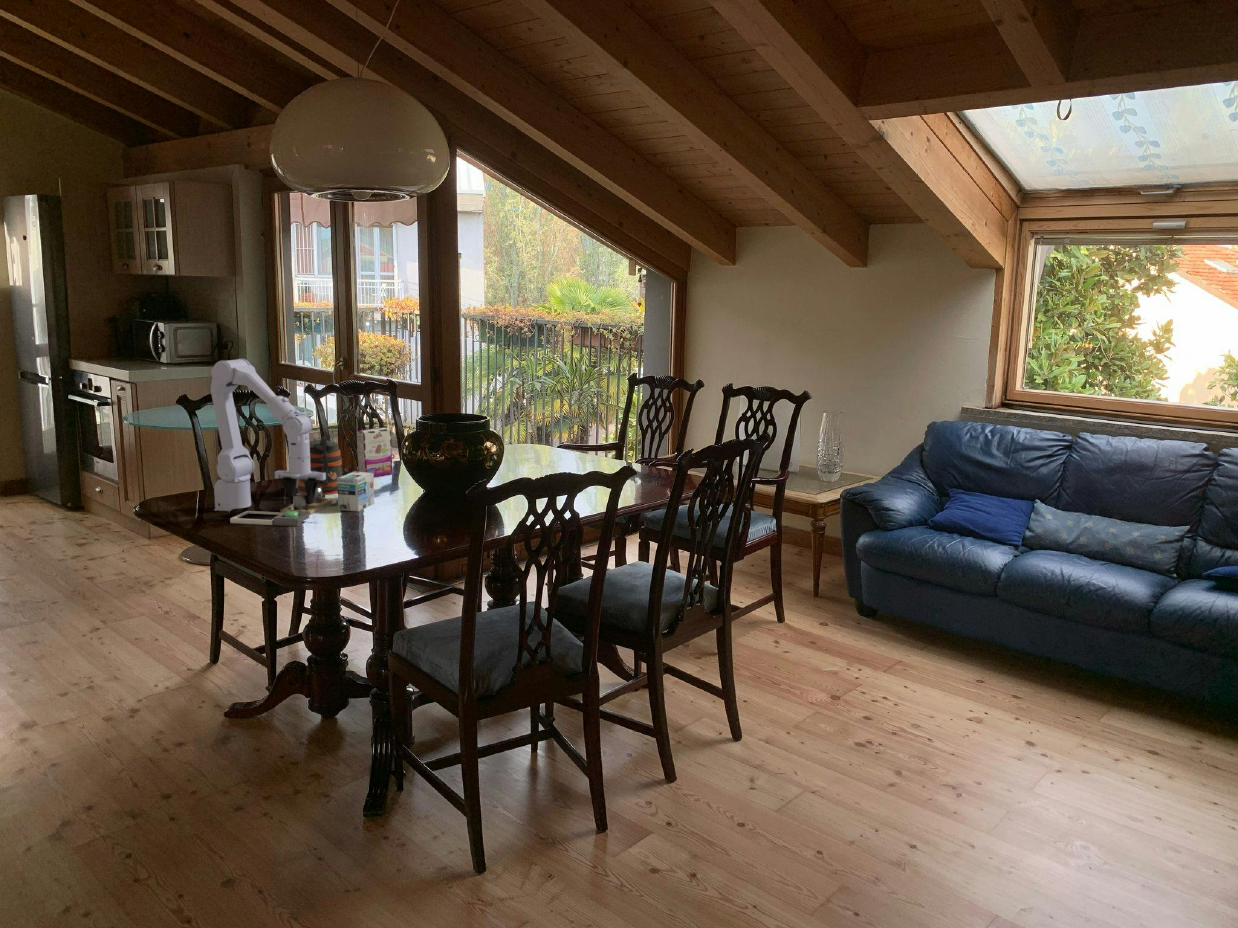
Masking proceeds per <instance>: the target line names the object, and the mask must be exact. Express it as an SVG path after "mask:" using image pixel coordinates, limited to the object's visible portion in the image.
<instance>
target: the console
mask: <svg viewBox="0 0 1238 928" xmlns="http://www.w3.org/2000/svg"><path fill="white" fill-rule="evenodd" d="M284 513H285V512H284ZM284 513H282V514H280V515H276V516H274V517H273V518H272V519H273V521H274V524H273V526H283V527H285V526H286V527H299V526H302V525H303V524H305V523H306V522H307V520H308V519H310V515H309V513H298V517H296V518H291V517H285V515H284Z"/></svg>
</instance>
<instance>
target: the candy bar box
mask: <svg viewBox="0 0 1238 928" xmlns="http://www.w3.org/2000/svg"><path fill="white" fill-rule="evenodd" d="M356 442H357V444H356V446H357V448H356V449H357V463H358V466H357V467H358V472H366V473H374V478H378V477H383V476H385V477H386V476H390V475H393V456H392V455H393V452H392V432H391V428H389V427H379V428H370V429H363V430H356Z"/></svg>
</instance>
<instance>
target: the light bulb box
mask: <svg viewBox="0 0 1238 928" xmlns="http://www.w3.org/2000/svg"><path fill="white" fill-rule="evenodd" d="M337 484H338V493H337V501H338V502H337V503H338V504H337V505H338V507H337V508H338V511H349V512H360V511H362V510H364V509H367V508H369V507H370V506H373V505H374V504H375V477H374V473H366V472H359V471H352V472H349V473H347V474H344V475H342V477H339V478H337Z"/></svg>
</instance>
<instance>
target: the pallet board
mask: <svg viewBox="0 0 1238 928" xmlns="http://www.w3.org/2000/svg"><path fill="white" fill-rule="evenodd" d="M322 498H323V503H312V504H310V505H308V510H293V504H289V505H288V506H286V507H284V508H281V509H280V511H279V512H280V513H284V512H287V511H297V512H298V513H309V516H312V515H314V514H316V513H317V512H319V511H321V510H323V509H325V508H327V507H329V506H331V505H333V504H335V503H336V502H337V501H336V498H335V497H334V498H332V497H322Z"/></svg>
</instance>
